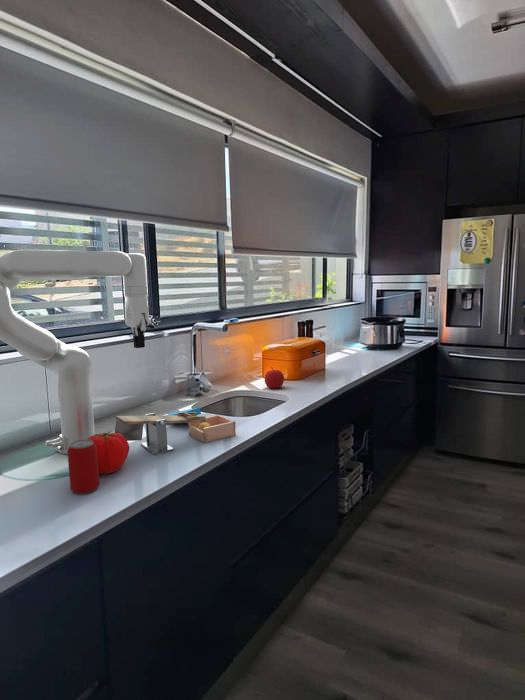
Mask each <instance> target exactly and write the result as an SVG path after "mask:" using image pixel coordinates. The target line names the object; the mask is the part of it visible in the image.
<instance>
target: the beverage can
mask: <svg viewBox="0 0 525 700" xmlns="http://www.w3.org/2000/svg"><path fill="white" fill-rule="evenodd" d="M67 453H68V454H67V462H68V474H69V485H70V490H71V491H72V492H74V493H76V494H79V495H83V494H89V493H92V492H94V491H95V490H96V489H97V488H98V487H99V486H100V475H99V471H98V458H97V447H96V446H95V444H94V443H93V441H92V440H88V439H85V440H78V441H74V442H72V443H71V444H70V447H69V449H68V451H67Z"/></svg>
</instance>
